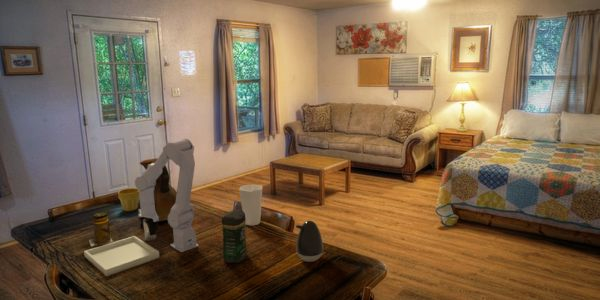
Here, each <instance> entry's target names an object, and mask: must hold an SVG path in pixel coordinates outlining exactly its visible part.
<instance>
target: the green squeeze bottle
mask: <svg viewBox="0 0 600 300" xmlns="http://www.w3.org/2000/svg"><path fill="white" fill-rule="evenodd" d="M245 223H246V218H245V213H244V212H243V210H242V209H233V210H231V211H228V212H226V213H225V214H223V215H222V217H221V228H222V244H223V245H222V259H223V261H224V262H227V263H228V264H229V263H230V264H234V263H235V264H236V263H237V264H238V263H240V262H242V261H243V260H244V259H245V258H246V257H247V255H248V249H247V248H248V247H247V237H246V224H245Z"/></svg>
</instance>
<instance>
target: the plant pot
mask: <svg viewBox="0 0 600 300" xmlns="http://www.w3.org/2000/svg"><path fill="white" fill-rule="evenodd" d="M117 198H118V200H120V203H121V208H122V210H123V211H124V212H131V211H135V210H137V209H138V202H139V198H140V197H139V190H138V189H137V188H136V187H132V188H131V187H129V188H123V189H120V190H119V191H118V192H117Z"/></svg>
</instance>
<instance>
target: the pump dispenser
mask: <svg viewBox="0 0 600 300" xmlns="http://www.w3.org/2000/svg"><path fill="white" fill-rule="evenodd" d="M295 228H296V229H299V231H298V235H297V239H296V246H295V252H296V253H297V255H298V257H299V259H301V260H302V261H304V262H308V263H312V262H313V263H314V262H316V261H317V260H319V259H320V258H321V257H322V255H323V251H324V245H323V238H322V233H321V232H320V229H319V227H318V225H317V224H316V222H315V221H313V220H306V221H304V222H303V223H302V225H300V224H299V225H298V224H296V225H295Z"/></svg>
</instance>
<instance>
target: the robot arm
mask: <svg viewBox="0 0 600 300" xmlns="http://www.w3.org/2000/svg"><path fill="white" fill-rule="evenodd" d="M194 151H195V146H194V145H193V143H192V141H191V140H190V139H189V138H183V139H180V140H175V141H170V142H167V143H166V144H165V145H164V146H163V147H162V152H161V153H160V155H159V156H158V157H157V158H158V159H157V161H156V162H155V163H152V164H149V165H148V166H147V167H148V168H147V169H145V171H143V172H142V173H141V176H136V178H135V180H134V186H135V188H137V189H138V190H139V197H138V198H140V207H141V209H139V211H138V218H137V219H138V220H139V221H140V223H141V225H142V228H143V229H144V223H143V219H144V218H150V220H146V221H145V222H146V224H147V226H148V228H149V233H150V235H151V236H152V235H155V234H156V235H157V229H158V225H159V223H160V222H161V221H160V219H159V217H158V216H157V214H156V211H155V203H154V192H153V191H154V186H155V184H156V180H157V178H158V177H159V176H160V175H161V173H162V171H163V170H162V168H163V167H164V165H165V166H166V165H167V163H168V162H170V160H171V161H172V162H173V163H174V164H175V165H176V166H178V167H179V171H178V172H179V173H178V180H177V188H176V192H177V194H176V203H175V204H174V206H173V207H172V208H171V211H170V214H169V215H168V220H167V223H168V225H170V227H171V228H172V234H173V243H171V244H169V246H170V247H172V248H173V249H175V250H177V251H179V252H180V253H184V252H186V251H189V250H191V249H195V248H197V247H199V244H198V243H197V235H196V234H197V233H196V230H195V229H193V227H192V223H193V220H194V218H195V211H194V207H195V206H194V205H193V204H192V203H191V196H192V191H193V190H192V189H193V183H194V181H193V180H194V174H195V166H196V163H195V156H194Z"/></svg>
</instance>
